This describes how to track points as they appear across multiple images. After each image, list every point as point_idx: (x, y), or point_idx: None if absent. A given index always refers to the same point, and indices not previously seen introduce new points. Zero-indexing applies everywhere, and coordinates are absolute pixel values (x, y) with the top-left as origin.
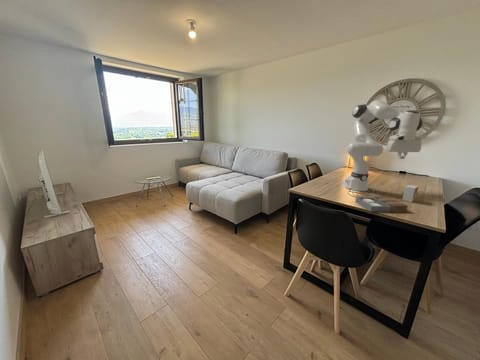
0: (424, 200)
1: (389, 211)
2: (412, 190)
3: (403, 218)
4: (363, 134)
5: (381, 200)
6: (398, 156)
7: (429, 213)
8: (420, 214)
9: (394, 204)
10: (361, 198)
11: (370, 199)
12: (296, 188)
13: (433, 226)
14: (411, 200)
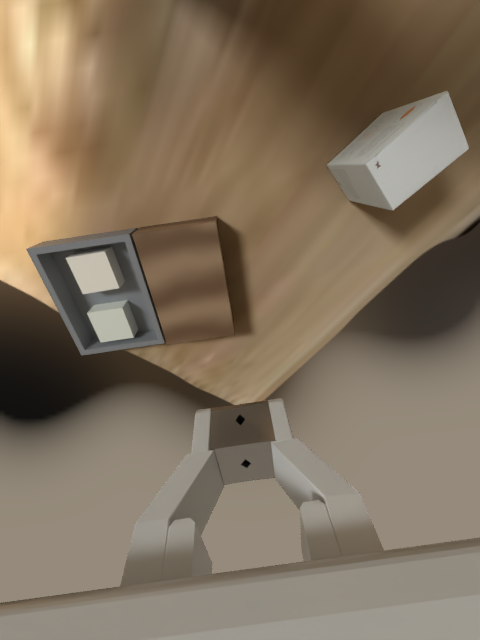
0: None
1: None
2: (376, 200)
3: (186, 374)
4: None
5: (149, 287)
6: (193, 443)
7: (311, 324)
8: (269, 337)
9: (185, 330)
10: (60, 249)
11: (105, 260)
12: None
13: None
14: (351, 200)
